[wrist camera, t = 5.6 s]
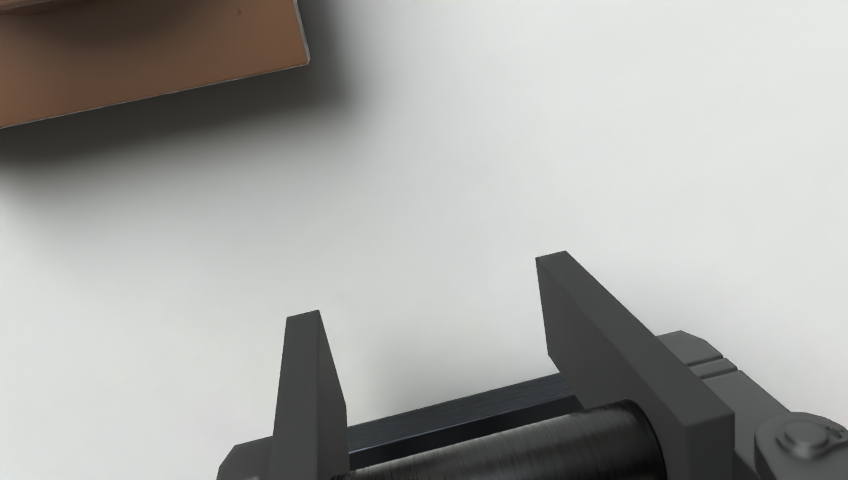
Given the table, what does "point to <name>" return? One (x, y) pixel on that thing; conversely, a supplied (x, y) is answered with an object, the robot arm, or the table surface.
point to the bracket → (460, 420)
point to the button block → (135, 50)
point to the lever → (542, 452)
